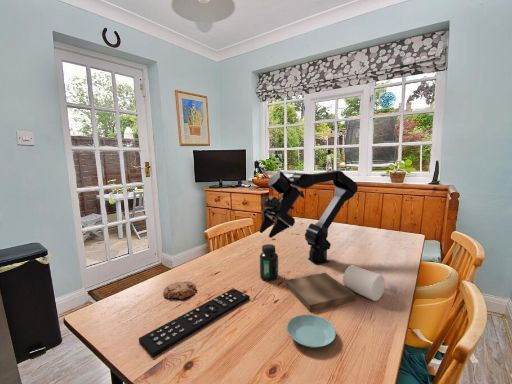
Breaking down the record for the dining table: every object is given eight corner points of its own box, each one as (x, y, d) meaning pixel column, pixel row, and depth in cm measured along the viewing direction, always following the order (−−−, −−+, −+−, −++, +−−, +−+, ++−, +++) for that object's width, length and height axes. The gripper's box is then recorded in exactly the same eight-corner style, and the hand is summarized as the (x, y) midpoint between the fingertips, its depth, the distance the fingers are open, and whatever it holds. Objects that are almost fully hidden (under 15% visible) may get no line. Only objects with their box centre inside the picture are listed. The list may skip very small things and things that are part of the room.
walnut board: (325, 277, 94) (325, 272, 94) (355, 300, 79) (355, 294, 79) (285, 285, 89) (285, 280, 89) (309, 311, 74) (309, 305, 74)
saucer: (326, 320, 70) (327, 313, 70) (342, 354, 59) (342, 345, 58) (283, 322, 70) (283, 315, 70) (291, 356, 58) (291, 347, 58)
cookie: (162, 290, 89) (161, 281, 89) (193, 283, 93) (192, 275, 93) (164, 304, 80) (163, 295, 80) (198, 296, 84) (198, 288, 84)
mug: (371, 305, 77) (372, 279, 76) (342, 291, 85) (342, 268, 84) (390, 291, 84) (392, 268, 83) (362, 280, 92) (363, 259, 91)
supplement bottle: (268, 283, 91) (267, 251, 89) (256, 276, 96) (255, 246, 95) (282, 277, 95) (281, 246, 94) (269, 271, 101) (269, 241, 99)
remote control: (250, 300, 82) (250, 294, 82) (153, 359, 59) (152, 351, 58) (234, 292, 87) (233, 286, 87) (139, 343, 64) (138, 336, 64)
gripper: (262, 187, 105) (240, 219, 102) (282, 189, 88) (257, 227, 85) (282, 203, 108) (261, 234, 106) (305, 207, 91) (281, 244, 88)
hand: (264, 234), depth 96 cm, fingers open, 9 cm apart
